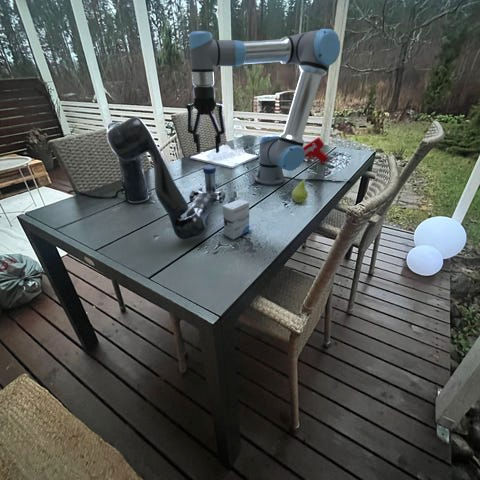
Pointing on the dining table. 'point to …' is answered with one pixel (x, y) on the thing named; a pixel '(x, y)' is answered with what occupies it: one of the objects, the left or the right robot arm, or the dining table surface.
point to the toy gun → (315, 150)
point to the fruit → (300, 192)
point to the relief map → (225, 157)
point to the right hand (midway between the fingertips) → (208, 151)
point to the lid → (209, 169)
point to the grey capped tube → (210, 183)
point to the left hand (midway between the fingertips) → (211, 190)
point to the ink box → (236, 218)
